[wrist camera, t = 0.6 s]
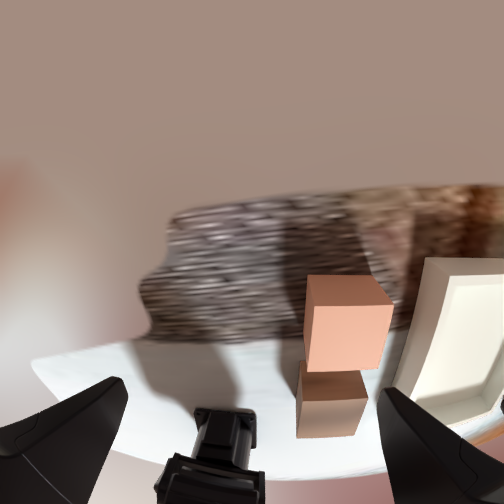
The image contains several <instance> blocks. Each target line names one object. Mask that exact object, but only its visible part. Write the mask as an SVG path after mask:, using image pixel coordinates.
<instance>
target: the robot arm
mask: <svg viewBox="0 0 504 504" xmlns="http://www.w3.org/2000/svg"><path fill="white" fill-rule="evenodd" d="M127 401H128V393H127V390H126V387H125V385H124V382H123V380H122V379H121V378H119V377H114V376H111V377H109V378H107V379H105V380H103V381H101V382H99V383H97V384H95V385H93V386H91V387H89V388H87V389H86V390H84V391H82V392H80V393H78V394H76V395H74V396H72V397H70V398H68V399H66V400H64V401H62V402H60V403H57V404H56V405H53V406H51V407H49V408H47V409H45V410H43V411H41V412H40V413H37V414H34V415H32V416H30V417H28V418H26V419H23V420H21V421H18V422H15V423H13V424H10V425H7V426H4V427H1V428H0V504H87V503H88V501H89V498H90V496H91V493H92V491H93V488H94V486H95V484H96V481H97V479H98V476H99V474H100V471H101V469H102V466H103V464H104V462H105V460H106V457H107V455H108V453H109V450H110V448H111V446H112V444H113V441H114V439H115V437H116V434H117V432H118V429H119V426H120V423H121V420H122V417H123V414H124V411H125V407H126V404H127ZM377 416H378V422H379V430H380V437H381V445H382V450H383V454H384V458H385V462H386V466H387V470H388V475H389V479H390V483H391V488H392V493H393V497H394V502H395V504H504V463H502V462H500V461H498V460H496V459H494V458H493V457H491V456H489V455H487V454H486V453H484V452H482V451H480V450H479V449H477V448H476V447H474V446H473V445H472V444H470V443H469V442H467V441H466V440H465V439H463V438H461V437H460V436H459V435H458V434H456V433H455V432H454V431H452V430H451V429H450V428H448V427H447V426H446V425H444V424H443V423H442V422H440V421H439V420H438V419H436V418H435V417H434V416H432V415H431V414H430V413H428V412H427V411H426V410H424V409H423V408H422V407H420V406H419V405H418V404H416V403H415V402H414V401H413V400H411V399H410V398H409V397H407V396H406V395H405V394H403V393H402V392H401V391H400V390H398V389H397V388H395V387H387V388H384V389H383V390H382V391H381V394H380V398H379V401H378V403H377ZM194 417H195V421H196V425H197V429H198V435H197V439H196V442H195V445H194V448H193V451H192V455H191V458H190V457H186V456H183V455H181V454H179V453H176V452H175V454H174V456H173V458H168V461H167V464H166V466H165V469H164V471H163V473H162V474H161V476H160V477H159V479H158V480H157V482H156V483H155V485H154V490H155V492H156V493H157V504H265V472H263V471H259V472H258V471H251V470H248V464H249V456H250V449H254V448H256V445H257V417H256V415H254V414H247V413H234V412H224V411H215V410H206V409H199V408H197V409H195V410H194Z"/></svg>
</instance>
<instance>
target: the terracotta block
mask: <svg viewBox="0 0 504 504" xmlns="http://www.w3.org/2000/svg"><path fill="white" fill-rule="evenodd" d="M393 309H394V304H393V303H392V301H391V300H390V298H389V297H388V296H387V294H386V293H385V292H384V290H383V289H382V288H381V286H380V285H379V284H378V282H377V281H376V280H375V278H374V277H373V276H372V275H308V276H307V291H306V305H305V317H304V329H303V335H304V345H305V355H306V365H307V372H328V371H352V370H368V369H378V367H379V364H380V360H381V357H382V353H383V350H384V346H385V342H386V338H387V334H388V330H389V326H390V322H391V318H392V313H393Z"/></svg>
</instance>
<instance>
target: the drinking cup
mask: <svg viewBox="0 0 504 504" xmlns="http://www.w3.org/2000/svg"><path fill="white" fill-rule="evenodd" d="M501 410H502V412H503V414H504V400H503V402H502V404H501Z"/></svg>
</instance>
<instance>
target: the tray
mask: <svg viewBox="0 0 504 504" xmlns="http://www.w3.org/2000/svg"><path fill="white" fill-rule="evenodd" d="M391 387H395V388H397V389H398V390H400V391H401V392H402V393H403V394H405V395H406V396H407V397H409V398H410V399H411V400H413V401H414V402H415V403H416V404H418V405H419V406H420V407H422V408H423V409H424V410H426V411H427V412H428V413H430V414H431V415H432V416H434V417H435V418H436V419H438V420H439V421H440V422H442V423H443V424H444V425H446V426H447V427H448V428H452V427H455V426H458V425H462V424H465V423H468V422H470V421H473V420H476V419H479V418H481V417H484V416H487V415H489V414H491V413H492V412H493V410H494V409H495V407H496V406H497V404H498V402H499V401H500V399H501V398H502V396H503V394H504V258H443V257H425V261H424V267H423V272H422V278H421V283H420V288H419V292H418V297H417V301H416V306H415V310H414V314H413V318H412V322H411V325H410V329H409V333H408V336H407V340H406V343H405V346H404V350H403V353H402V356H401V359H400V362H399V365H398V368H397V371H396V374H395V377H394V379H393V382H392V385H391Z"/></svg>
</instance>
